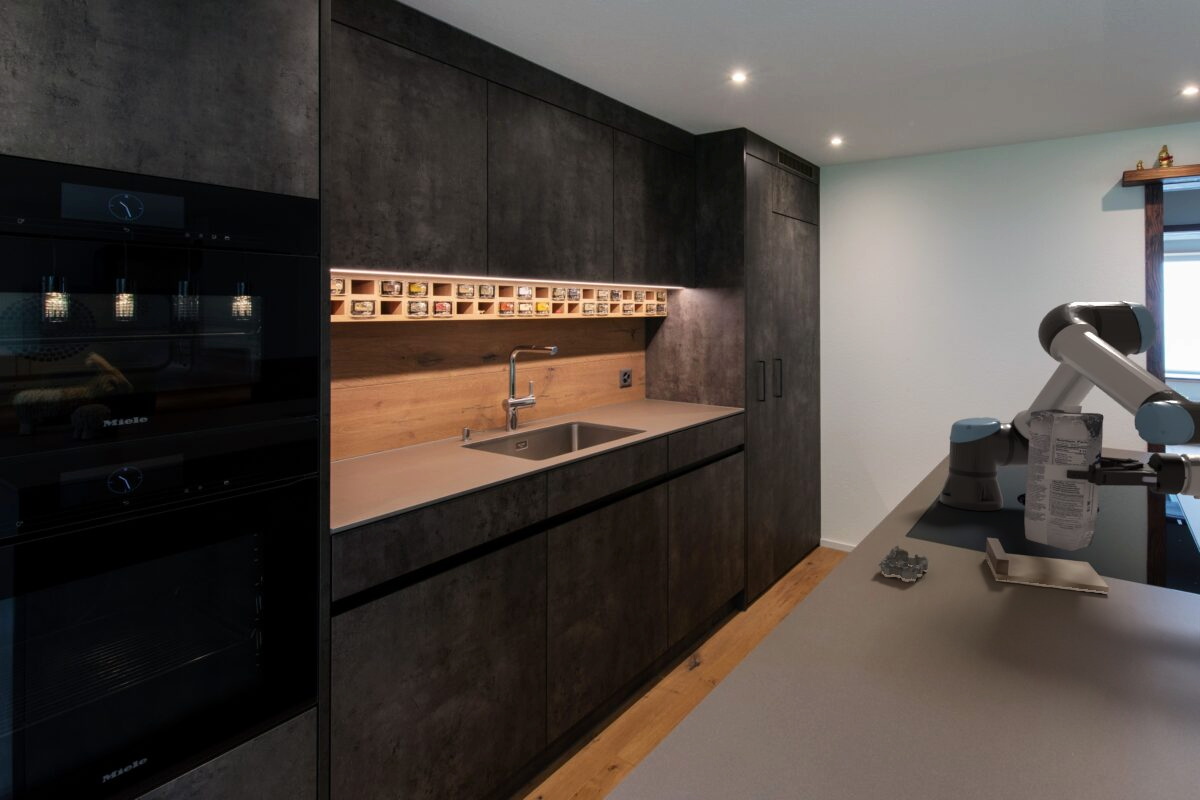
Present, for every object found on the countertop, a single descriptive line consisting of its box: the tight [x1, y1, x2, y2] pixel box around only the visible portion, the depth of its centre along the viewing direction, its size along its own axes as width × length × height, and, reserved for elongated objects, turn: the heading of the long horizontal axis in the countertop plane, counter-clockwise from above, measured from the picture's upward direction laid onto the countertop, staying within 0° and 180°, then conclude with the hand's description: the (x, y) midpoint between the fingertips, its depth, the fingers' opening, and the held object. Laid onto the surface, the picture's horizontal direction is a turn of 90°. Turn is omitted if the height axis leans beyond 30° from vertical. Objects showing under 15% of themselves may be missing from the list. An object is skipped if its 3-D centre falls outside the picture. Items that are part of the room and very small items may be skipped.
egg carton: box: [878, 545, 932, 579], centre depth 137 cm, size 11×8×4 cm
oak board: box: [985, 551, 1109, 593], centre depth 135 cm, size 18×14×2 cm
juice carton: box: [1024, 405, 1105, 552], centre depth 132 cm, size 9×10×27 cm
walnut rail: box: [985, 537, 1009, 575], centre depth 138 cm, size 2×14×3 cm, turn 158°
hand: (1038, 465), depth 134 cm, fingers closed on juice carton, 11 cm apart
